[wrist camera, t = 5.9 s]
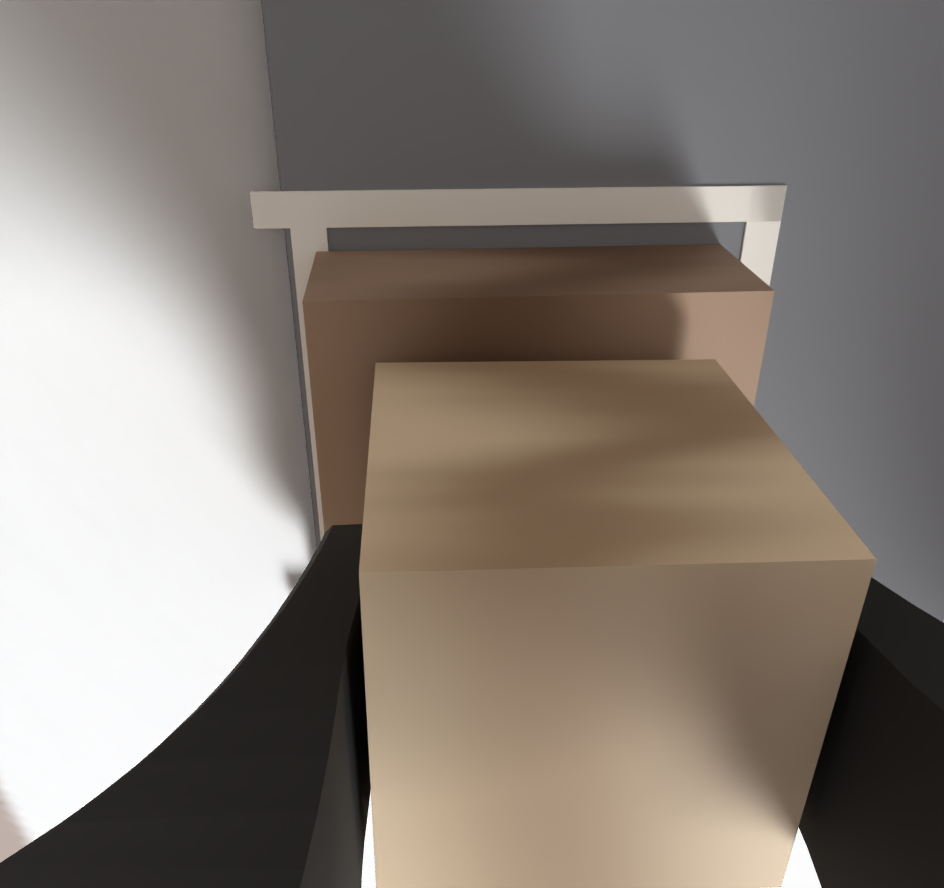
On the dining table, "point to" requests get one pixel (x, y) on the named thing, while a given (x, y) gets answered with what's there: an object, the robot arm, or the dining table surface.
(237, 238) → the dining table surface
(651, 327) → the walnut slab
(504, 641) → the oak cube
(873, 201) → the mat
